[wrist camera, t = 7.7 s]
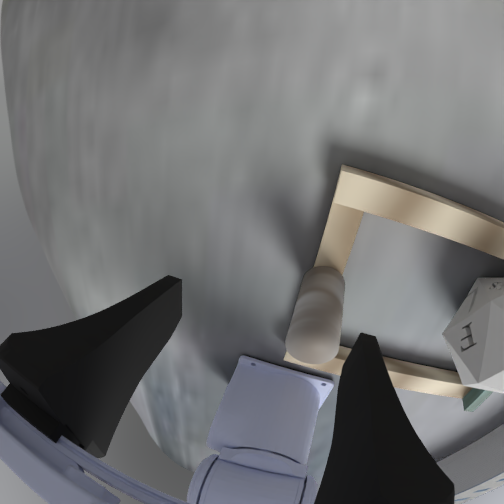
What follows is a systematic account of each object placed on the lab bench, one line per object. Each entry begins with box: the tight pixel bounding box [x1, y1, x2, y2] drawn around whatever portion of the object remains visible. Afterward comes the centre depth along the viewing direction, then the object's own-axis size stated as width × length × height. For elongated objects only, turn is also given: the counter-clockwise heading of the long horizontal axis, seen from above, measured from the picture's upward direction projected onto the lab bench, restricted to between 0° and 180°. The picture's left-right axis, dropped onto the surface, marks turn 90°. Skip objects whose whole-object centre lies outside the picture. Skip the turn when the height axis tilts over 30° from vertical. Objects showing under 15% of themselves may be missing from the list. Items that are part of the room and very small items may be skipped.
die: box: [442, 278, 504, 393], centre depth 16 cm, size 8×9×10 cm
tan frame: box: [284, 164, 504, 412], centre depth 18 cm, size 20×16×7 cm
